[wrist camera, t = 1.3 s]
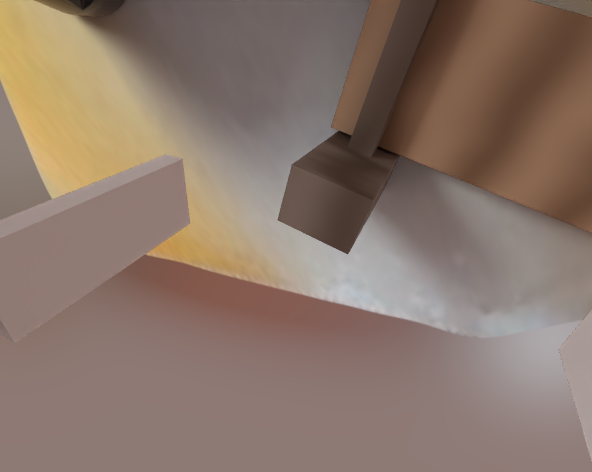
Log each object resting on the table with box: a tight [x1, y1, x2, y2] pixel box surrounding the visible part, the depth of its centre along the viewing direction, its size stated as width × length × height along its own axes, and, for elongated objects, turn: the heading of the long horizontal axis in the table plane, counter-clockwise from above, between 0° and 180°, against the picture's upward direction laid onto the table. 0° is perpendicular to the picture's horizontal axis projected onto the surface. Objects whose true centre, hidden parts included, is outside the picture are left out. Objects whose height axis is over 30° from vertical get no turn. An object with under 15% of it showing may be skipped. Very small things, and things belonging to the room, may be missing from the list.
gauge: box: [278, 0, 439, 254], centre depth 20 cm, size 5×16×10 cm, turn 164°
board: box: [331, 0, 592, 233], centre depth 21 cm, size 20×10×2 cm, turn 74°
